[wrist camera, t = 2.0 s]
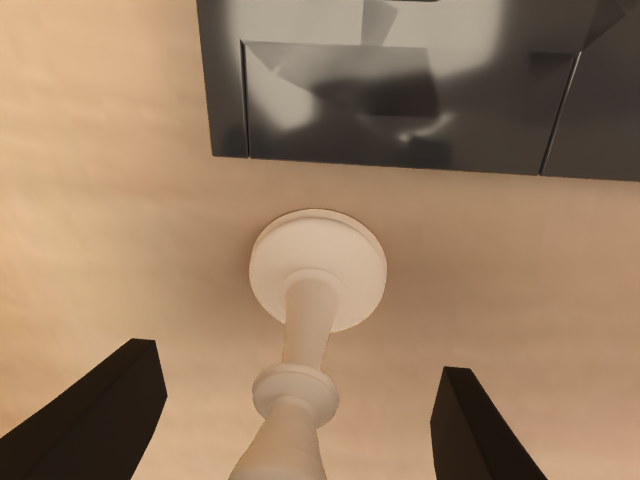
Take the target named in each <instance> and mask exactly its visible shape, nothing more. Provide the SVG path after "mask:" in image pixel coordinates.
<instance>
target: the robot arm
mask: <svg viewBox="0 0 640 480" xmlns="http://www.w3.org/2000/svg"><path fill="white" fill-rule="evenodd" d="M167 396H168V395H167V391H166V387H165V382H164V378H163V373H162V369H161V364H160V360H159V355H158V351H157V347H156V342H155V340H146V339H135V338H132V339H130V340H129V341H128V342H126V343H125V344H124V345H123V346H121V347H120V348H119V349H117V350H116V351H115V352H114V353H112V354H111V355H110V356H109V357H107V358H106V359H105V360H104V361H102V362H101V363H100V364H99V365H97V366H96V367H95V368H94V369H92V370H91V371H90V372H89V373H87V374H86V375H85V376H84V377H82V378H81V379H80V380H78V381H77V382H76V383H75V384H73V385H72V386H71V387H69V388H68V389H67V390H66V391H64V392H63V393H62V394H60V395H59V396H58V397H57V398H55V399H54V400H53V401H51V402H50V403H49V404H47V405H46V406H45V407H43V408H42V409H40V410H39V411H38V412H36V413H35V414H34V415H32V416H31V417H29V418H28V419H27V420H25V421H24V422H23V423H21V424H20V425H18V426H17V427H16V428H14V429H13V430H11V431H10V432H9V433H7V434H6V435H5V436H3V437H2V438H0V480H130V479H131V478H132V476H133V474H134V472H135V470H136V468H137V466H138V464H139V462H140V460H141V458H142V456H143V454H144V452H145V450H146V448H147V446H148V444H149V442H150V440H151V438H152V436H153V434H154V431H155V429H156V426H157V423H158V421H159V418H160V416H161V413H162V410H163V407H164V404H165V402H166V399H167ZM430 427H431V438H432V449H433V458H434V467H435V472H436V477H437V480H548V479H547V478H546V477H545V475H544V474H543V473H542V471H541V470H540V469H539V467H538V466H537V465H536V464H535V462H534V461H533V459H532V458H531V457H530V455H529V454H528V453H527V451H526V450H525V448H524V447H523V446H522V444H521V443H520V441H519V440H518V439H517V437H516V436H515V435H514V433H513V432H512V430H511V429H510V427H509V426H508V425H507V423H506V422H505V420H504V419H503V417H502V416H501V414H500V413H499V411H498V410H497V408H496V407H495V405H494V404H493V402H492V401H491V399H490V398H489V396H488V395H487V393H486V392H485V390H484V389H483V387H482V385H481V384H480V382H479V381H478V379H477V378H476V376H475V374H474V373H473V372H472V371H471V369H469V368H458V367H447V366H444V368H443V372H442V376H441V380H440V384H439V388H438V392H437V396H436V400H435V404H434V408H433V412H432V416H431V420H430Z"/></svg>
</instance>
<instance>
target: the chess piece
mask: <svg viewBox="0 0 640 480" xmlns="http://www.w3.org/2000/svg"><path fill="white" fill-rule="evenodd" d="M249 278H250V283H251V287H252V290H253V292H254V294H255V296H256V298H257V300H258V301H259V303H260V304H261V306H262V307H263V308H264V309H265V310H266V311H267V312H268V313H269V314H270V315H271V316H273V317H274V318H275V319H277V320H278V321H280V322H282V323H283V324H285V335H284V348H283V356H282V363H281V364H276V365H273V366H270V367H268V368H266V369H265V370H263V371H262V372H261V373H260V374H259V375H258V376H257V377H256V379H255V381H254V383H253V388H252V392H253V402H254V405H255V408H256V409H257V411H258V412H259V414H260V415H261V416H262V417H263V418H265V419H266V421H265V422H264V423H263V425H262V426H261V427H260V429H259V431H258V433H257V435H256V437H255V439H254V440H253V442H252V443H251V445H250V446H249V448H248V449H247V451H246V452H245V453H244V454H243V455H242V457H241V458H240V460H239V461H238V463H237V464H236V466H235V468H234V469H233V471H232V473H231V475H230V477H229V479H228V480H327V478H326V473H325V470H324V468H323V465H322V460H321V456H320V452H319V443H318V438H317V434H316V431H315V429H316V428H319V427H321V426H323V425H325V424H326V423H328V422H329V421H330V420H331V419H332V417H333V416H334V414H335V412H336V409H337V407H338V405H339V400H340V396H339V391H338V388H337V386H336V385H335V383H334V382H333V380H332V379H331V378H330V377H329V376H328V375H326V374H325V373H324V372H322V371H320V369H321V365H322V360H323V356H324V353H325V349H326V346H327V342H328V339H329V335H330V333H332V332H338V331H342V330H345V329H348V328H351V327H353V326H355V325H357V324H359V323H360V322H362V321H363V320H365V319H366V318H367V317H368V316H369V315H370V314H371V313H372V312H373V311H374V310H375V309H376V307H377V306H378V304H379V303H380V301H381V299H382V296H383V293H384V290H385V283H386V278H387V262H386V258H385V254H384V251H383V249H382V247H381V245H380V243H379V242H378V240H377V239H376V237H375V236H374V235H373V234H372V233H371V232H370V231H369V230H368V229H367V228H366V227H365V226H364V225H362V224H361V223H360V222H358V221H356V220H355V219H353V218H351V217H349V216H347V215H344V214H342V213H339V212H335V211H331V210H324V209H305V210H299V211H295V212H291V213H288V214H286V215H284V216H282V217H280V218H278V219H276V220H275V221H273V222H272V223H271V224H269V225H268V226H267V227H266V228H265V229H264V230H263V231H262V233H261V234H260V235H259V237H258V238H257V240H256V242H255V244H254V247H253V250H252V254H251V260H250V266H249Z"/></svg>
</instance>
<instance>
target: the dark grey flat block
mask: <svg viewBox="0 0 640 480" xmlns="http://www.w3.org/2000/svg"><path fill="white" fill-rule="evenodd" d="M196 3H197V13H198V23H199V32H200V42H201V52H202V62H203V71H204V81H205V91H206V100H207V110H208V120H209V130H210V139H211V149H212V155H213V156H214V157H229V158H246V159H247V158H249V157H250V158H251V159H263V160H280V161H297V162H313V163H330V164H347V165H363V166H380V167H397V168H414V169H430V170H447V171H464V172H480V173H497V174H514V175H530V176H537V175H540V176H547V177H563V178H580V179H597V180H613V181H630V182H640V0H196Z"/></svg>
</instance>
